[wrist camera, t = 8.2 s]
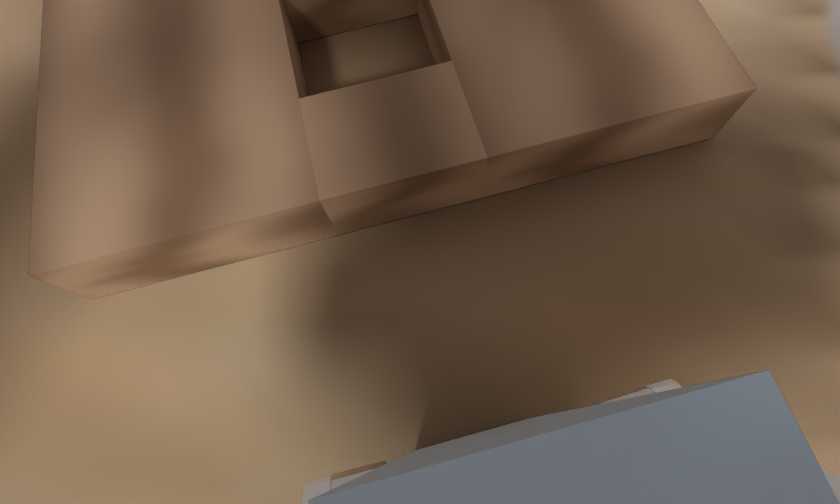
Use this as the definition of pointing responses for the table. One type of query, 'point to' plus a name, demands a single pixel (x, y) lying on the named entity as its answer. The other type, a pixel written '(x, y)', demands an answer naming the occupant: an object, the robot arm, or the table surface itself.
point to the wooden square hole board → (336, 120)
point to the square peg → (618, 455)
